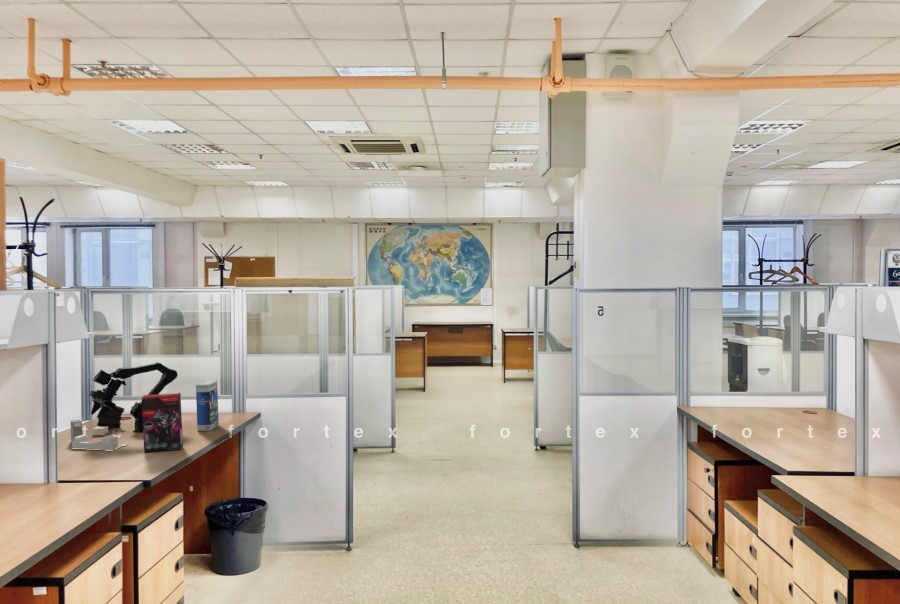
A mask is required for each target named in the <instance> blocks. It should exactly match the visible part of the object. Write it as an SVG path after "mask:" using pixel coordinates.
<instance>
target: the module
mask: <svg viewBox="0 0 900 604" xmlns="http://www.w3.org/2000/svg"><path fill="white" fill-rule="evenodd" d="M80 435H83V421H82V420H81V419H75V420H70V440H71V441H70V442H71V443H72V442H74V437H77V436H80Z"/></svg>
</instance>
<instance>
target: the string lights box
mask: <svg viewBox="0 0 900 604" xmlns="http://www.w3.org/2000/svg"><path fill="white" fill-rule="evenodd" d="M195 395H196V399H195V400H196V427H197V429H196V430H197V432H207V431H208V432H210V431H212V430H213V429H216V428H217V427H218V425H220V424H219V422H220V421H219V401H218V400H219V395H218V380H204V381H203V382H200V383H197V384H195ZM216 426H217V427H216Z"/></svg>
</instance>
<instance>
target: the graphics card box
mask: <svg viewBox="0 0 900 604" xmlns="http://www.w3.org/2000/svg"><path fill="white" fill-rule="evenodd" d="M181 396H182V395H181V392H177V393H165V394H164V393H162V394H161V393H159V394H158V395H148V394H145V395H143V396H142V397H141V401H142V416H143V432H142V434H143V453H144V454H145V453H155V452H156V453H157V452H166V451H177V450H181V449H182V448H183V446H184V441H183V437H184V436H183V424H182V423H183V422H182V419H183V418H182V398H181Z"/></svg>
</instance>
